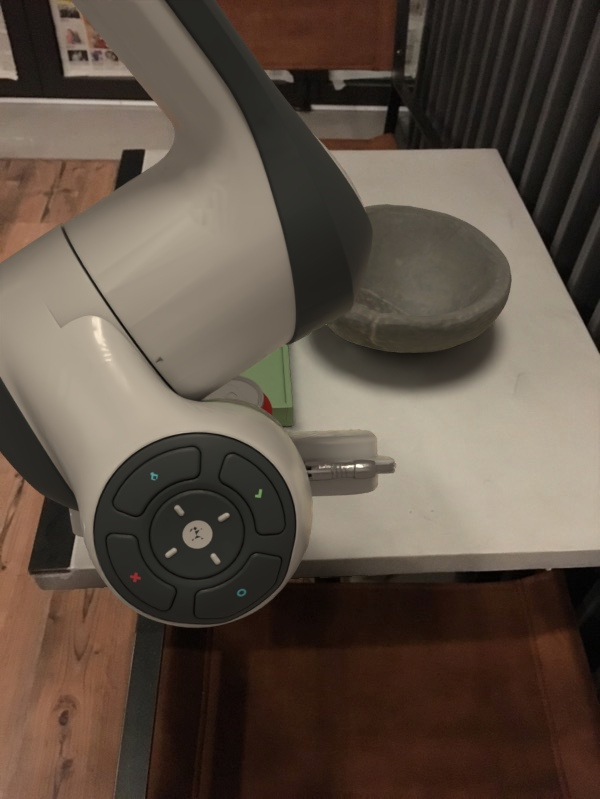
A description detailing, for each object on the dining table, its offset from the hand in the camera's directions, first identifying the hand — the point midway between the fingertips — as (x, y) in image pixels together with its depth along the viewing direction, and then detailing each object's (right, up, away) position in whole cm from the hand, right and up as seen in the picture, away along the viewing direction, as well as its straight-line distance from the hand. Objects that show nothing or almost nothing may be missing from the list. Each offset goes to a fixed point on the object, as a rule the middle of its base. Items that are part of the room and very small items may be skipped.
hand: (231, 452), depth 53 cm
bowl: (+17, +13, +28) cm, 35 cm away
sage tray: (-4, +7, +21) cm, 23 cm away
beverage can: (-1, -4, +11) cm, 12 cm away
